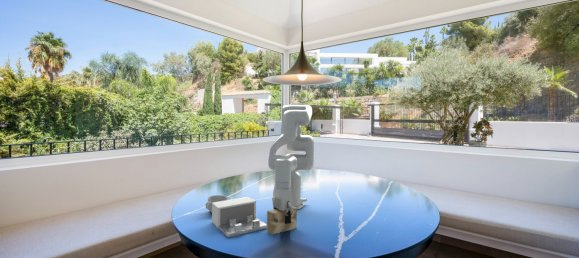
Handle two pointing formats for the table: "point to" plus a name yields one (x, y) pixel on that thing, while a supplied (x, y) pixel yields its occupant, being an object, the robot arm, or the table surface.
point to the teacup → (214, 200)
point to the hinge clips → (241, 226)
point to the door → (280, 221)
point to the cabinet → (232, 210)
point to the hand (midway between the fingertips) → (282, 219)
